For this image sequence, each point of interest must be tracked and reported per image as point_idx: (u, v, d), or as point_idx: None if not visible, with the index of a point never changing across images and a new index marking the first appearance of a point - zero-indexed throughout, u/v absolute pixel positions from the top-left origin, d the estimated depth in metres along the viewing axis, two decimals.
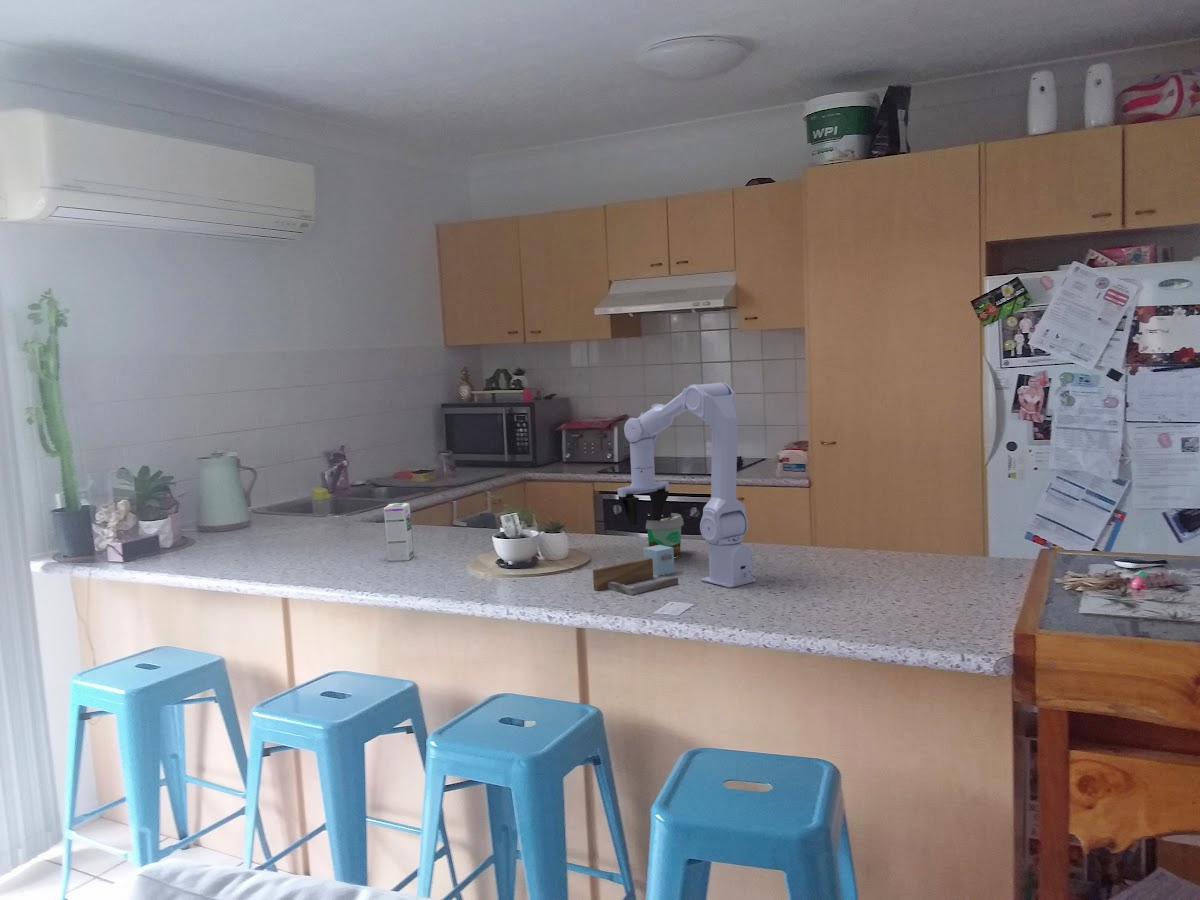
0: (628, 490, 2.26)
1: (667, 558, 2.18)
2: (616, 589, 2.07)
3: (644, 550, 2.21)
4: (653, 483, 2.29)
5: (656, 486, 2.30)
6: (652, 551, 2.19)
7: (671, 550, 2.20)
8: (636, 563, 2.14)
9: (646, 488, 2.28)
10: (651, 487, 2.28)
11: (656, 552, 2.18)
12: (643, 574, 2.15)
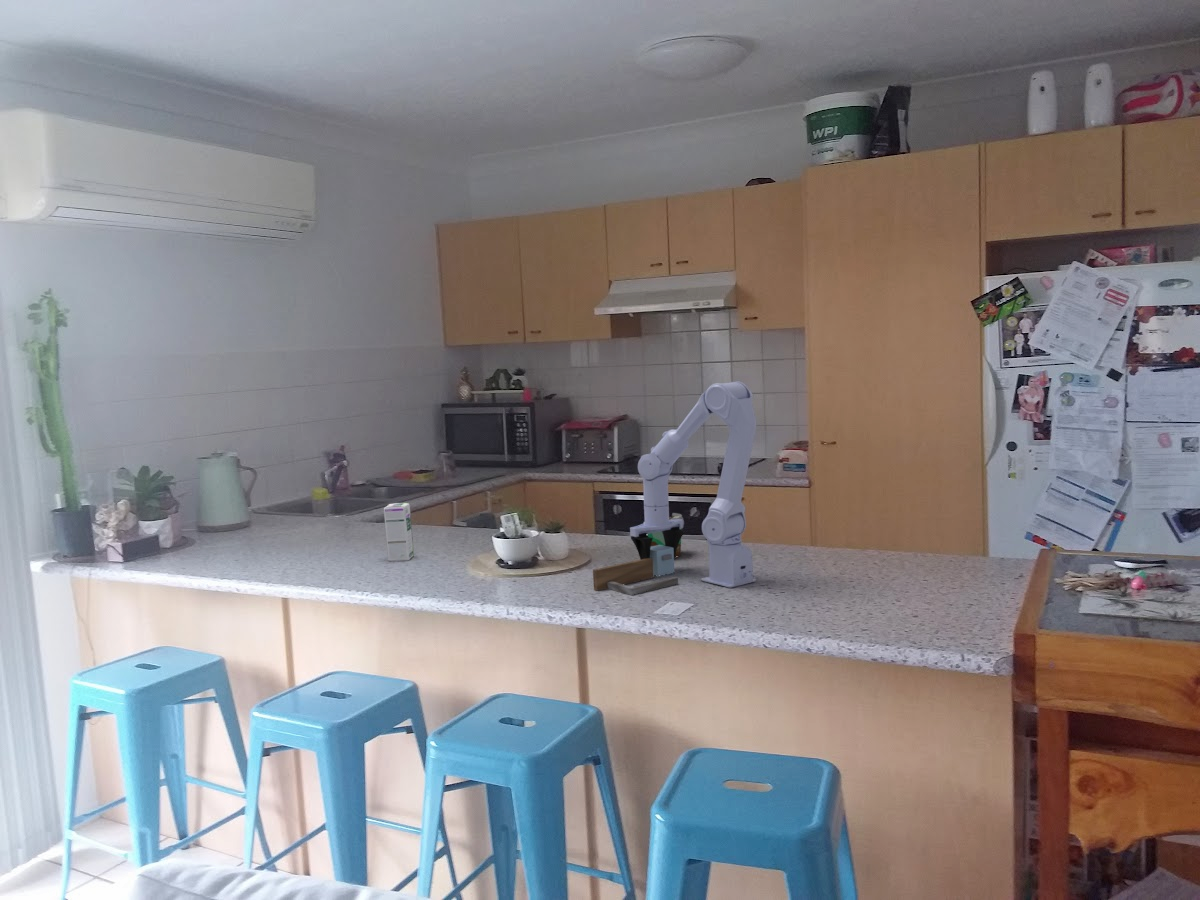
0: (641, 530, 2.16)
1: (667, 558, 2.18)
2: (616, 589, 2.07)
3: None
4: (667, 522, 2.19)
5: (670, 525, 2.20)
6: (652, 551, 2.19)
7: (671, 550, 2.20)
8: (636, 563, 2.14)
9: (660, 527, 2.17)
10: (665, 526, 2.18)
11: (656, 552, 2.18)
12: (643, 574, 2.15)
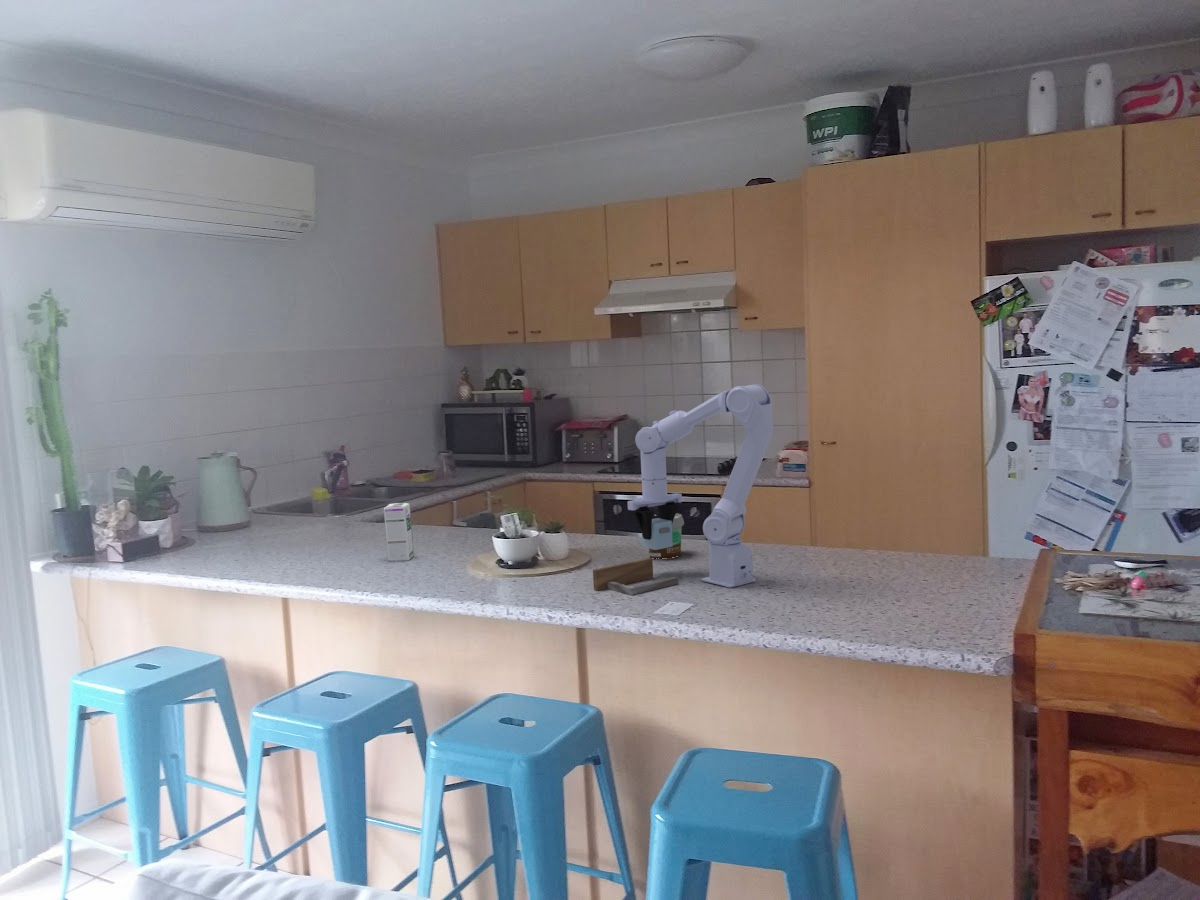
0: (639, 503, 2.14)
1: (665, 531, 2.16)
2: (616, 589, 2.07)
3: None
4: (665, 496, 2.16)
5: (668, 499, 2.17)
6: None
7: (669, 523, 2.17)
8: (636, 563, 2.14)
9: (658, 501, 2.15)
10: (663, 500, 2.15)
11: (654, 525, 2.15)
12: (643, 574, 2.15)
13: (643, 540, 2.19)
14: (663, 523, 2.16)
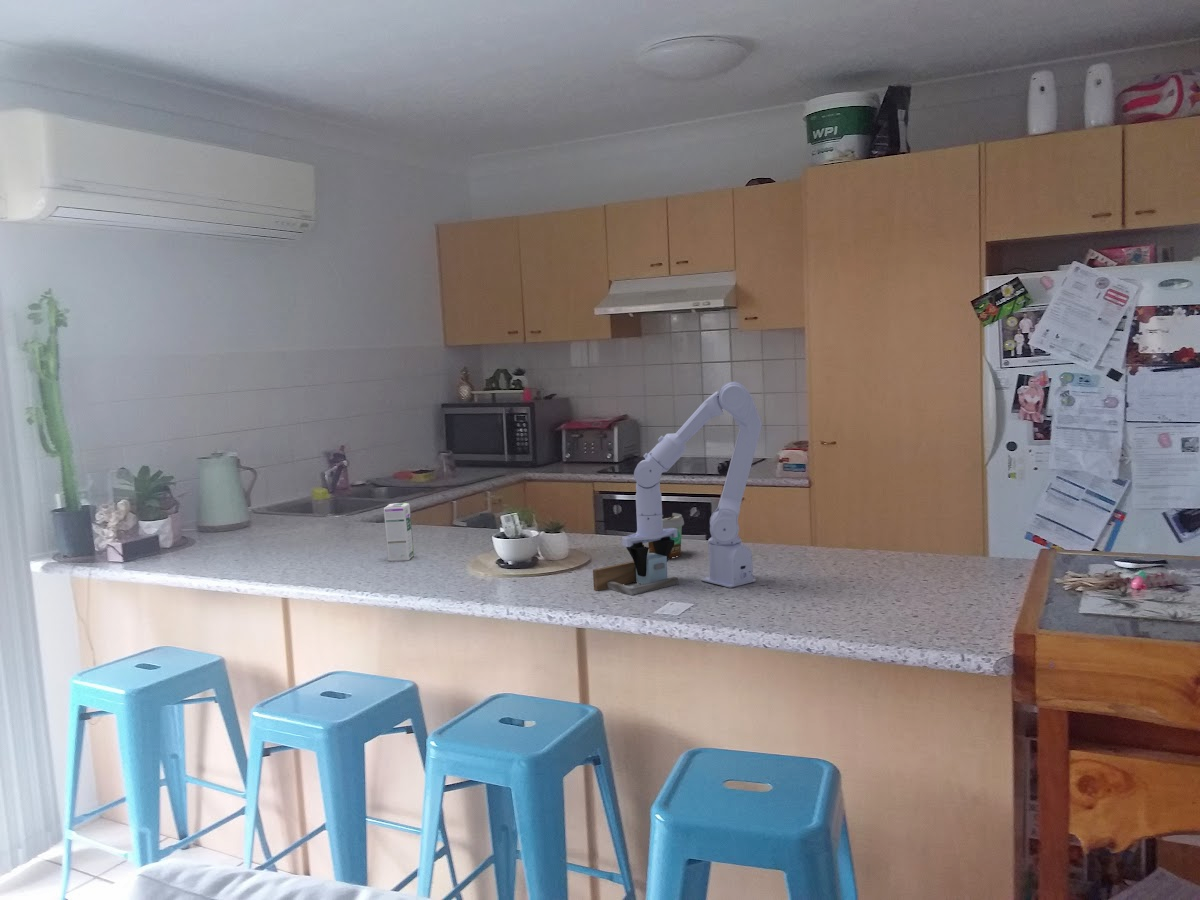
0: (633, 539, 2.07)
1: (660, 567, 2.10)
2: (616, 589, 2.07)
3: None
4: (661, 531, 2.10)
5: (664, 534, 2.11)
6: None
7: (664, 559, 2.11)
8: None
9: (653, 537, 2.09)
10: (658, 536, 2.09)
11: (648, 561, 2.09)
12: None
13: (637, 576, 2.13)
14: (658, 559, 2.10)
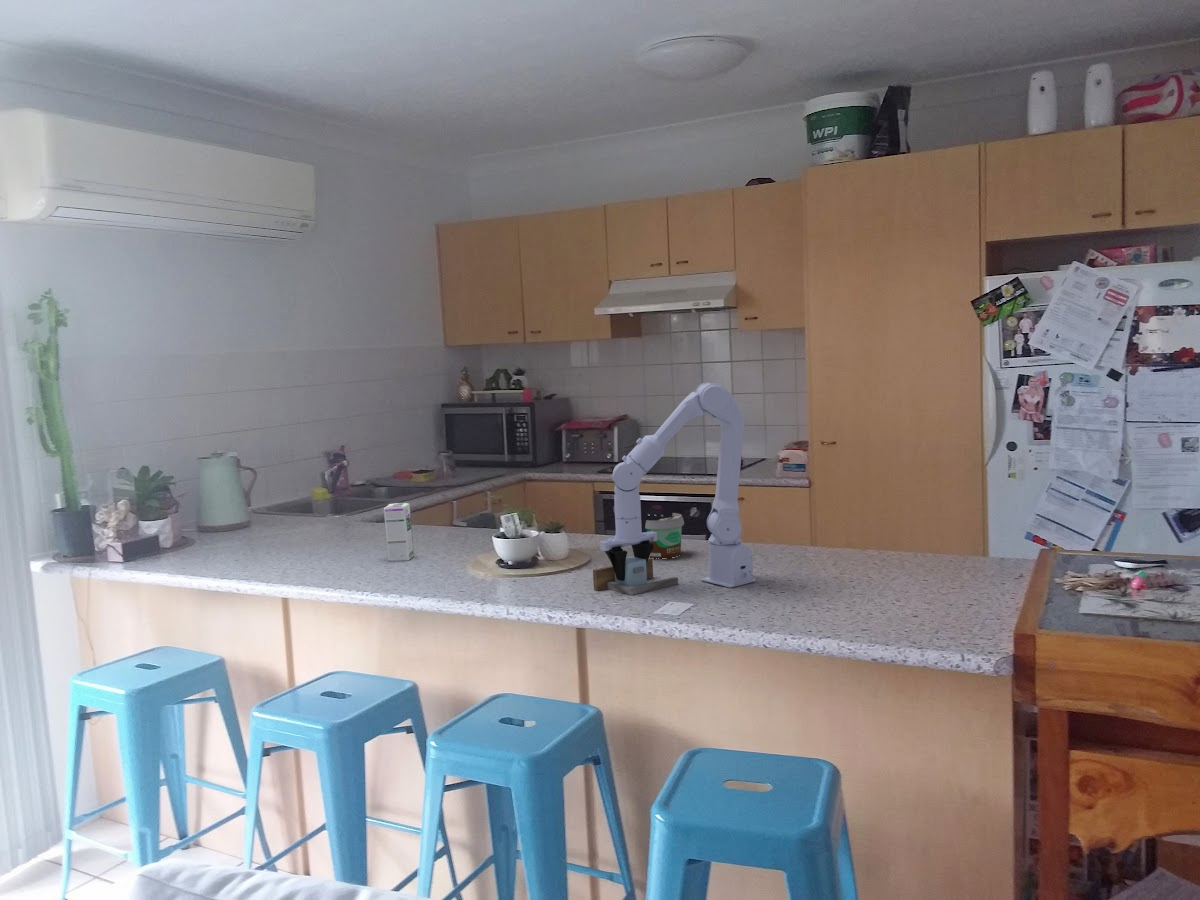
0: (612, 543, 2.04)
1: (639, 571, 2.07)
2: (616, 589, 2.07)
3: None
4: (639, 535, 2.07)
5: (643, 538, 2.08)
6: None
7: (643, 562, 2.08)
8: None
9: (632, 541, 2.06)
10: (637, 540, 2.06)
11: (627, 564, 2.06)
12: None
13: (616, 580, 2.10)
14: (637, 562, 2.07)
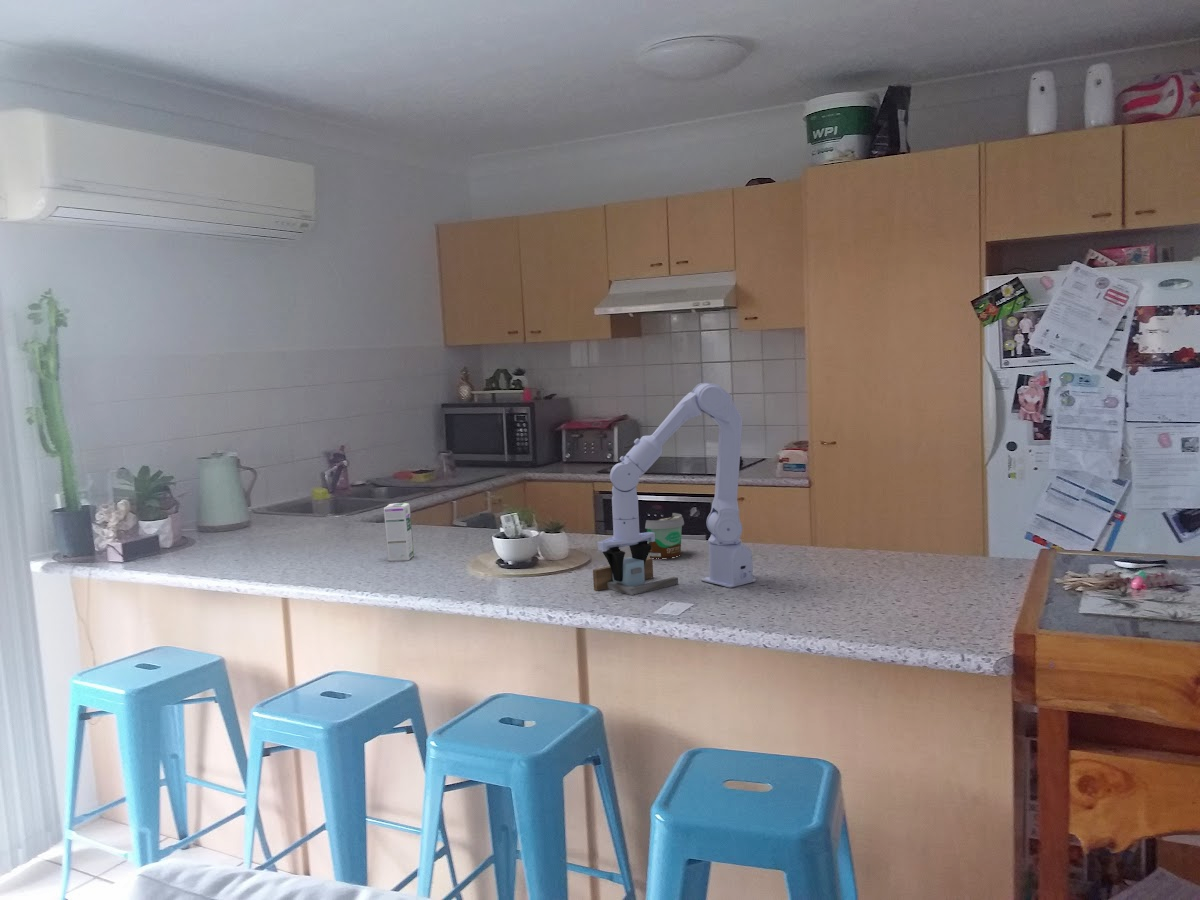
0: (609, 544, 2.04)
1: (637, 572, 2.06)
2: (616, 589, 2.07)
3: None
4: (637, 535, 2.07)
5: (641, 539, 2.07)
6: None
7: (641, 563, 2.08)
8: None
9: (629, 541, 2.05)
10: (635, 540, 2.06)
11: (625, 565, 2.06)
12: None
13: (614, 581, 2.09)
14: (635, 563, 2.07)
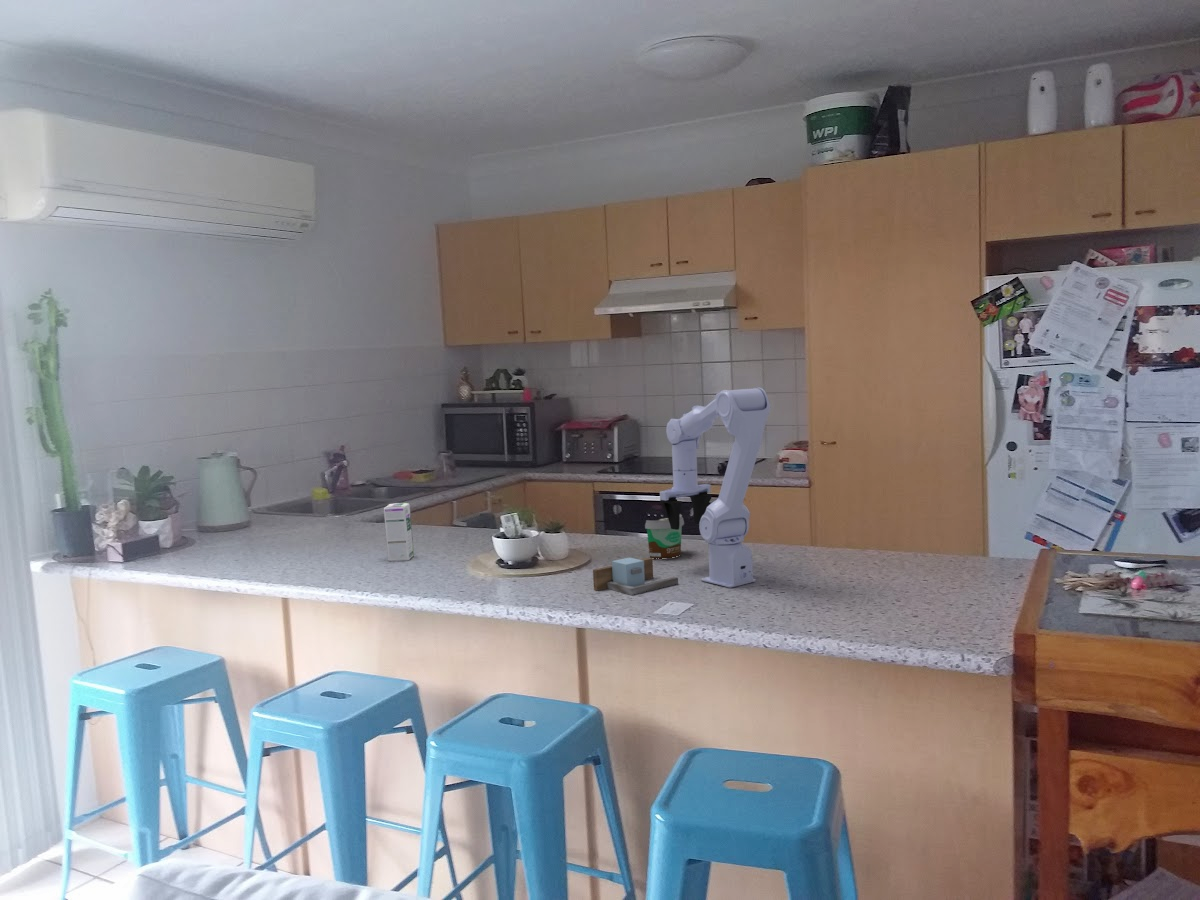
0: (671, 493, 2.19)
1: (637, 572, 2.06)
2: (616, 589, 2.07)
3: (613, 563, 2.09)
4: (696, 486, 2.21)
5: (699, 489, 2.22)
6: (621, 564, 2.07)
7: (641, 563, 2.08)
8: None
9: (689, 491, 2.20)
10: (694, 490, 2.21)
11: (625, 566, 2.06)
12: None
13: (614, 581, 2.09)
14: (635, 563, 2.07)
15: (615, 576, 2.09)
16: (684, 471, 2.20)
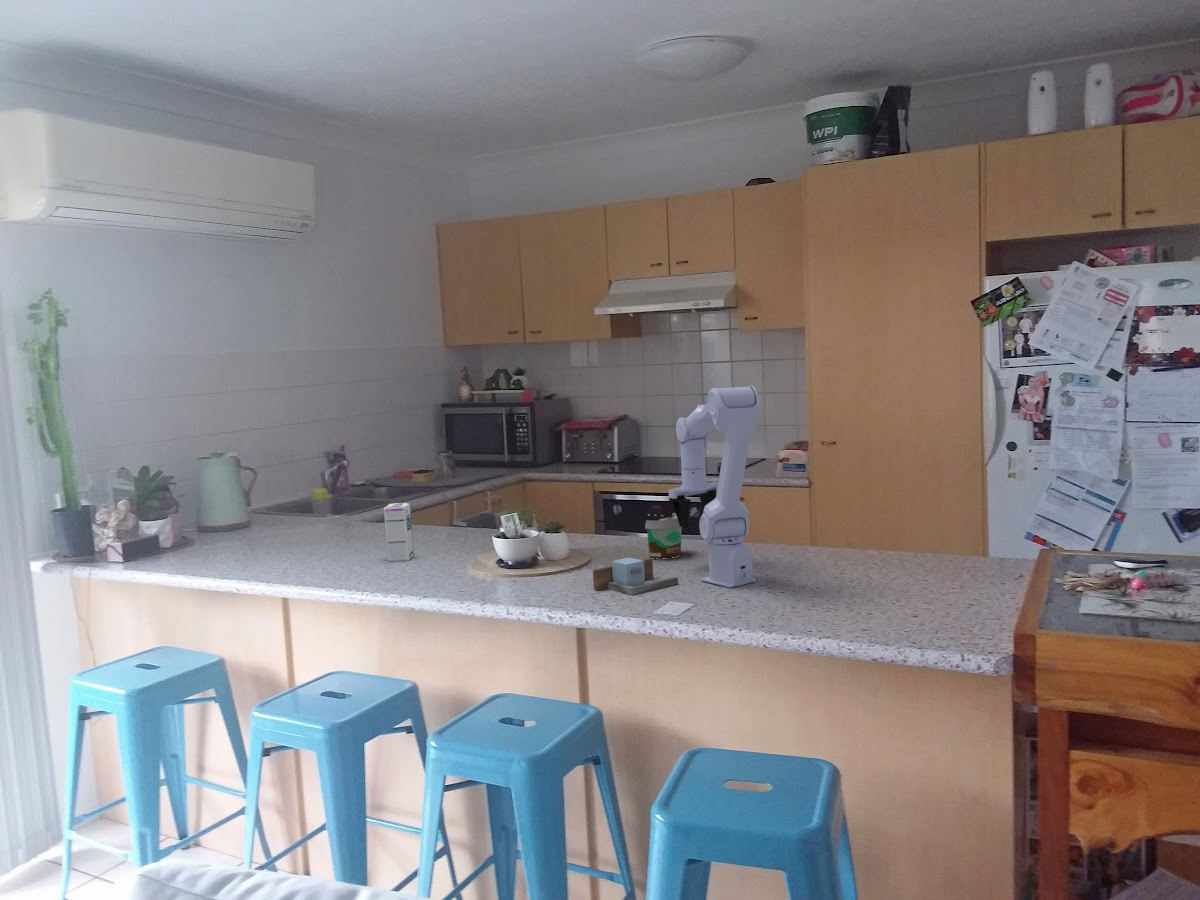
0: (679, 492, 2.21)
1: (637, 572, 2.06)
2: (616, 589, 2.07)
3: (613, 563, 2.09)
4: (704, 484, 2.24)
5: (707, 487, 2.24)
6: (621, 564, 2.07)
7: (641, 563, 2.08)
8: None
9: (698, 489, 2.22)
10: (703, 488, 2.23)
11: (625, 566, 2.05)
12: None
13: (614, 581, 2.09)
14: (635, 563, 2.07)
15: (615, 576, 2.09)
16: (693, 469, 2.22)
